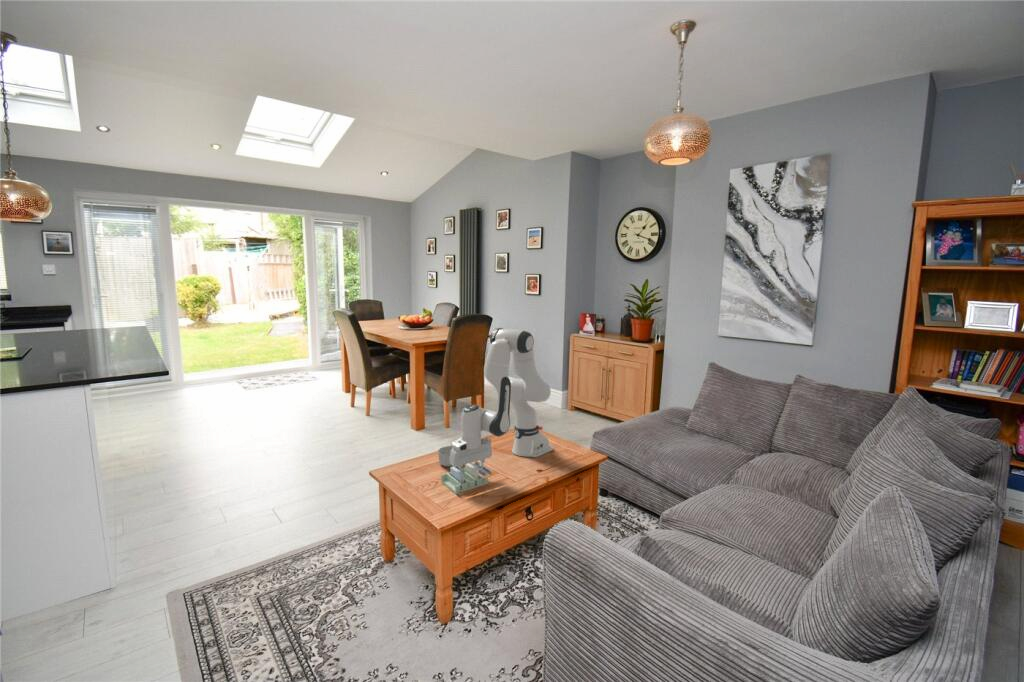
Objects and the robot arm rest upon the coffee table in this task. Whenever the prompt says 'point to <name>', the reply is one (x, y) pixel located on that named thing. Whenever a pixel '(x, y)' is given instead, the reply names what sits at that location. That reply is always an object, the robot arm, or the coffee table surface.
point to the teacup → (445, 456)
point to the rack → (461, 480)
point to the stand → (481, 471)
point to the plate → (472, 471)
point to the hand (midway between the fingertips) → (471, 470)
